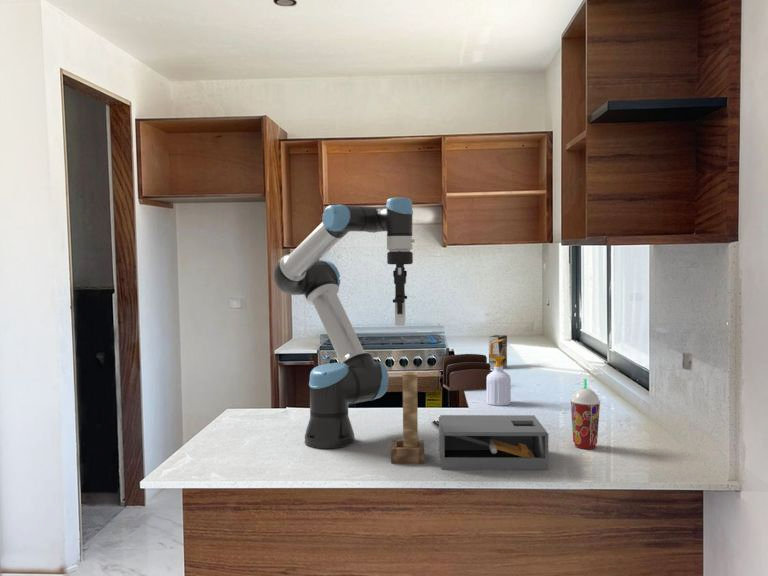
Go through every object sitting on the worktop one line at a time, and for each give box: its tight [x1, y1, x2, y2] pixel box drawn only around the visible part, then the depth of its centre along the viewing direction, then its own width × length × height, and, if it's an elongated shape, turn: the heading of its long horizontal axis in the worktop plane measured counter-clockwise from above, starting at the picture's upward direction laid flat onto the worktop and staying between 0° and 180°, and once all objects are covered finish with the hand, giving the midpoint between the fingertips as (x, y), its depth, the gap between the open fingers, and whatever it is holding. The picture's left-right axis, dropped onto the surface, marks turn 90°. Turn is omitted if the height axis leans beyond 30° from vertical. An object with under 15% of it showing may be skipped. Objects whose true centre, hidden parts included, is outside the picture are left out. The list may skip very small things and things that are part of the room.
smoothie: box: [570, 378, 601, 450], centre depth 191 cm, size 8×8×20 cm
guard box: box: [438, 414, 549, 471], centre depth 180 cm, size 28×18×10 cm, turn 87°
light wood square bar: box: [402, 371, 419, 448], centre depth 181 cm, size 4×4×24 cm
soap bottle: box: [486, 339, 512, 407], centre depth 247 cm, size 9×9×25 cm
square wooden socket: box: [390, 439, 425, 465], centre depth 181 cm, size 9×9×4 cm
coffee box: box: [488, 334, 508, 370], centre depth 326 cm, size 9×6×16 cm
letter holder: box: [442, 353, 494, 392], centre depth 278 cm, size 10×20×14 cm, turn 101°
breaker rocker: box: [454, 436, 536, 458], centre depth 180 cm, size 24×15×2 cm, turn 88°
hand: (400, 323), depth 192 cm, fingers open, 13 cm apart
